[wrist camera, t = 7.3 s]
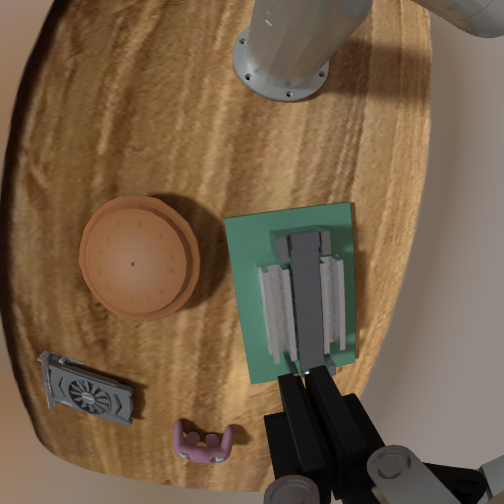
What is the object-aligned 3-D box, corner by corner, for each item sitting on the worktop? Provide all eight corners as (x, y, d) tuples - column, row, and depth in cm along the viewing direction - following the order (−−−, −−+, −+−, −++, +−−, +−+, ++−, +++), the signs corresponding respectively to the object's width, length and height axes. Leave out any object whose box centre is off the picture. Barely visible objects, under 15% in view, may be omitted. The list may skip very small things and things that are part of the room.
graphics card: (45, 409, 38) (35, 358, 35) (52, 397, 41) (45, 347, 39) (131, 439, 40) (132, 391, 38) (135, 425, 44) (137, 377, 41)
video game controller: (175, 425, 45) (171, 460, 40) (174, 417, 42) (170, 455, 37) (230, 431, 46) (230, 466, 41) (234, 424, 44) (234, 462, 38)
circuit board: (224, 218, 37) (224, 219, 36) (346, 201, 38) (349, 202, 37) (250, 379, 42) (251, 384, 41) (351, 358, 43) (354, 362, 42)
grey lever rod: (287, 232, 32) (290, 235, 31) (313, 228, 33) (318, 231, 31) (300, 374, 37) (303, 382, 35) (322, 369, 37) (326, 377, 35)
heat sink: (251, 233, 37) (256, 242, 31) (330, 222, 37) (348, 228, 32) (269, 363, 41) (275, 387, 35) (336, 349, 41) (350, 371, 36)
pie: (188, 322, 40) (184, 340, 35) (85, 293, 37) (70, 305, 33) (216, 210, 37) (214, 214, 32) (102, 183, 35) (86, 183, 30)
